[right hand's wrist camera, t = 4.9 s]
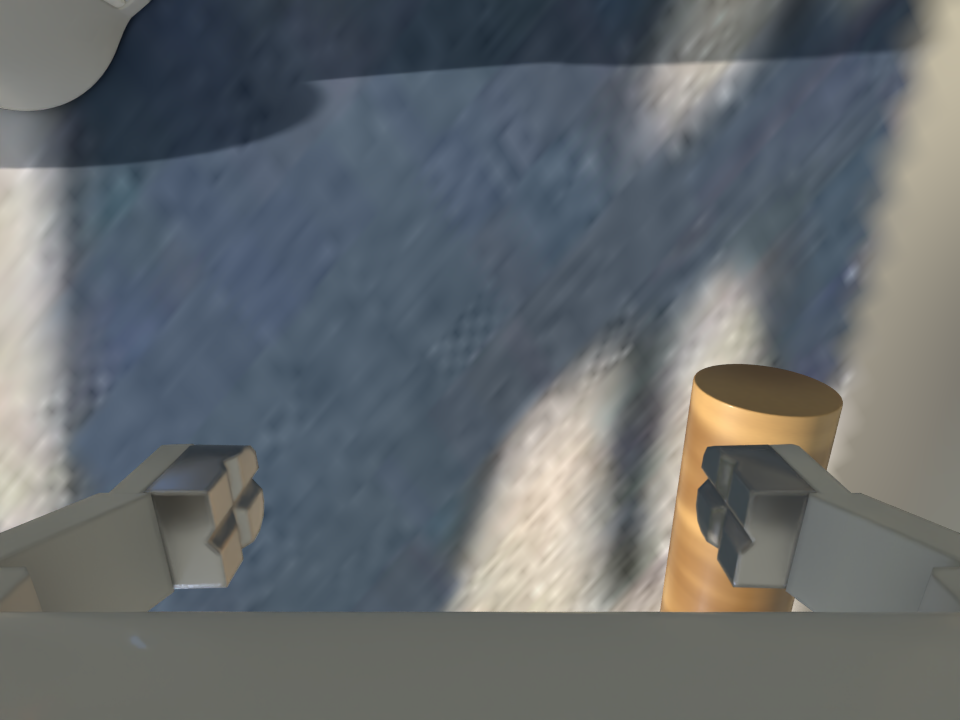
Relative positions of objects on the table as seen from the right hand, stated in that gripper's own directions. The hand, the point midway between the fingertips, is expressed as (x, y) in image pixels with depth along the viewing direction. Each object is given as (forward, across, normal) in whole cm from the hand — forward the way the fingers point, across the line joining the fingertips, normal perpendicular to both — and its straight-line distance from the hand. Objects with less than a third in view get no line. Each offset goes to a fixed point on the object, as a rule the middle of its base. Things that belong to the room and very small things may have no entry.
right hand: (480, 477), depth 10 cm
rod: (+17, +13, -17) cm, 27 cm away
